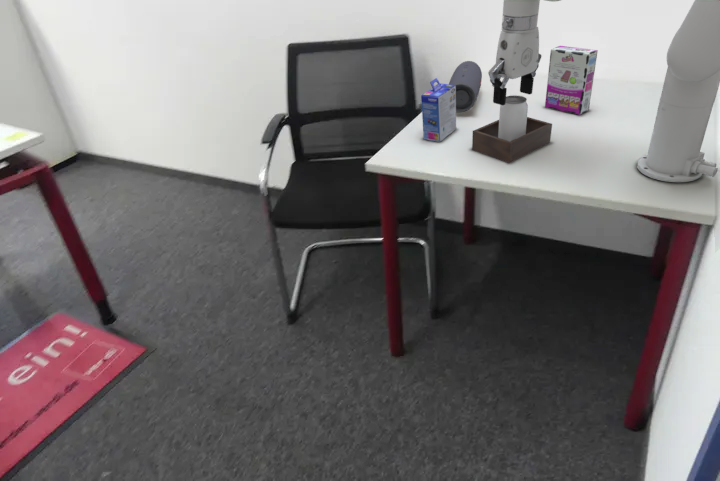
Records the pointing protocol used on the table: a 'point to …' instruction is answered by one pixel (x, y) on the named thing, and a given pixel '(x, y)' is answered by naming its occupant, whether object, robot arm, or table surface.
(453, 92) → the ink cartridge box
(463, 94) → the bluetooth speaker
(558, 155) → the table surface
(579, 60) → the candy bar box
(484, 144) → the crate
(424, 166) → the table surface
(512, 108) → the can
